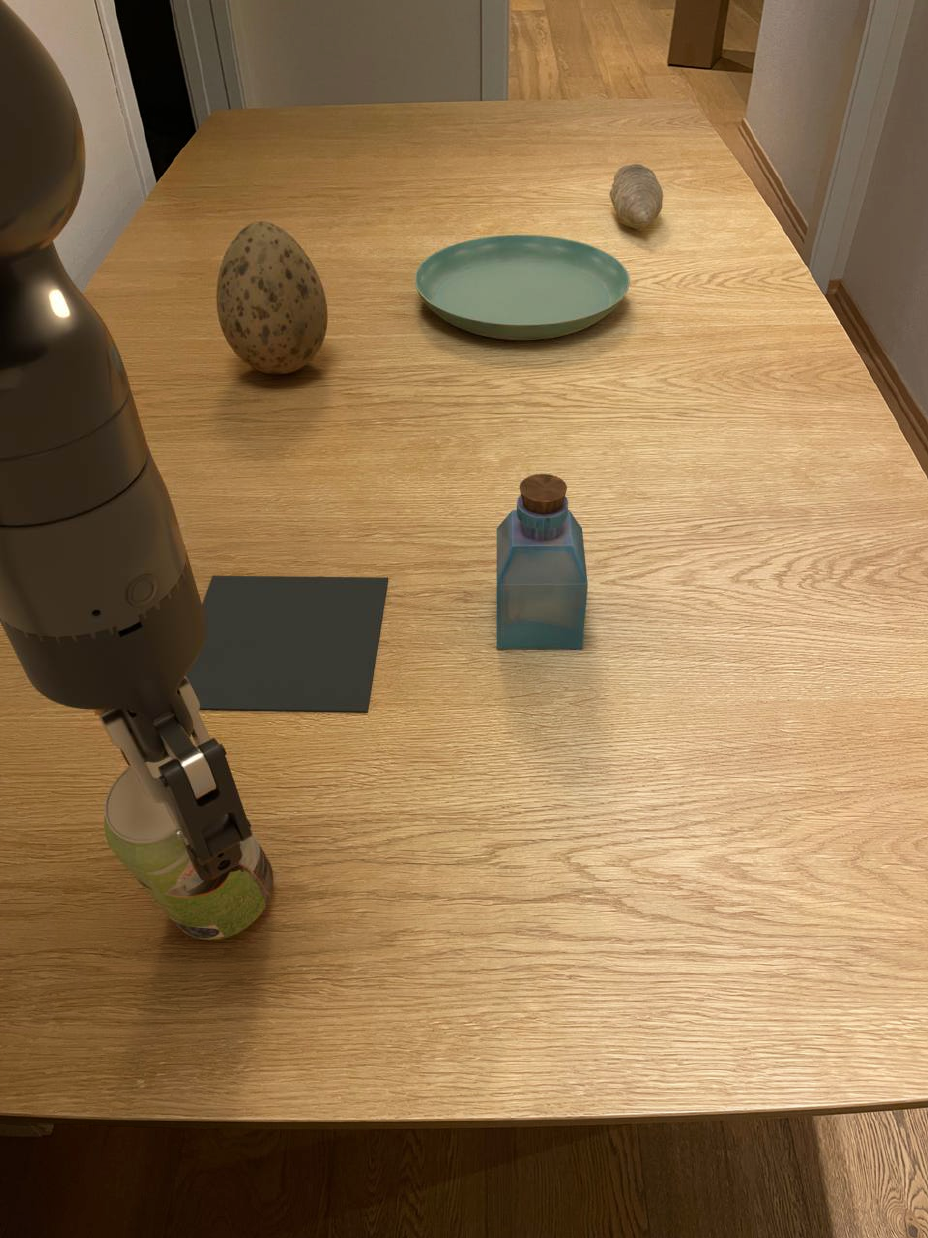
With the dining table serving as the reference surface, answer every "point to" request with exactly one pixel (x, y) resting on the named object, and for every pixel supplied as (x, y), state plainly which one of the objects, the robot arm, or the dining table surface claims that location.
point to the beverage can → (183, 865)
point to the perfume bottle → (541, 570)
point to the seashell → (636, 195)
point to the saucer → (521, 286)
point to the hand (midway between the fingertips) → (182, 809)
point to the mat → (289, 643)
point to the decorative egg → (270, 300)
